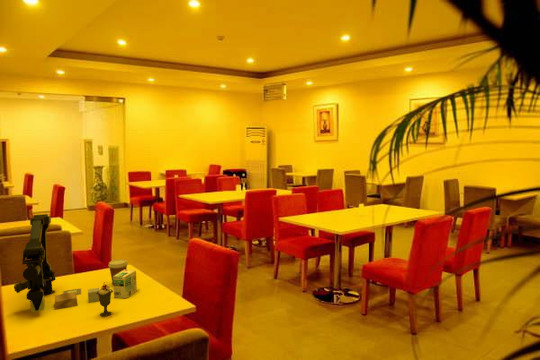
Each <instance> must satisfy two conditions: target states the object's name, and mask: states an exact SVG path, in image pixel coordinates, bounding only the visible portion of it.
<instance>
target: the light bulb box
mask: <svg viewBox="0 0 540 360" xmlns="http://www.w3.org/2000/svg"><path fill="white" fill-rule="evenodd" d="M137 285H138V284H137V270H135V269H126V270H123V271H121V272H119V273H118V274H116V275H114V276H113V283H112V287H113V298H116V299H117V298H118V299H127V298H129V297H130V296H132V295H133V294H134V293H136V292H137V291H138V289H137Z"/></svg>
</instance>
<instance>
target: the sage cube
mask: <svg viewBox="0 0 540 360" xmlns="http://www.w3.org/2000/svg"><path fill="white" fill-rule="evenodd" d="M29 301H30V313H33V312H40V311H44V310H45V307H46V305H45V296H43V299H42V302H41V304H40V307H39V310H38V311H36V310H35V308H34V305H33V303H32V301H31V300H29Z"/></svg>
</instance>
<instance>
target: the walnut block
mask: <svg viewBox="0 0 540 360" xmlns="http://www.w3.org/2000/svg"><path fill="white" fill-rule="evenodd" d="M77 306H78V299H77V295H76V292H72V293H66V294H63V293H61V294H56V295H54V310H62V309H67V308H72V307H77Z"/></svg>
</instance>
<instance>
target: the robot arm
mask: <svg viewBox="0 0 540 360" xmlns="http://www.w3.org/2000/svg"><path fill="white" fill-rule="evenodd" d="M51 223H52V218H51V215H48V213H45V214H44V213H43V214H34V215H32V216H31V217H29V225H30V226H31V229H30V235H29V241H28V242H27V243H26V244H25V247H24V249H23V251H22V265H26V267H25V268H24V270H23V273H22V277H23V278H24V280H21V281H19V282H16V283H15V284H13V289H14V292H16V294H19V293H21V292H22V291H24V290H28V291H27V292H26V300H28V301H32V303H33V305H34V308H35V310H36V311H35V312H39V311H38V310H39V307H40V304H41V302H42V299H43V296H44V297H45V296H47V295H50V294H53V293H55V292H56V290H53V284H52V283H53V282H54V281H55V280H56V274H55V271H54V269H53V268H52V265H51V263H50V261H48V239H47V231H48V230H49V228H50V227H51Z"/></svg>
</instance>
